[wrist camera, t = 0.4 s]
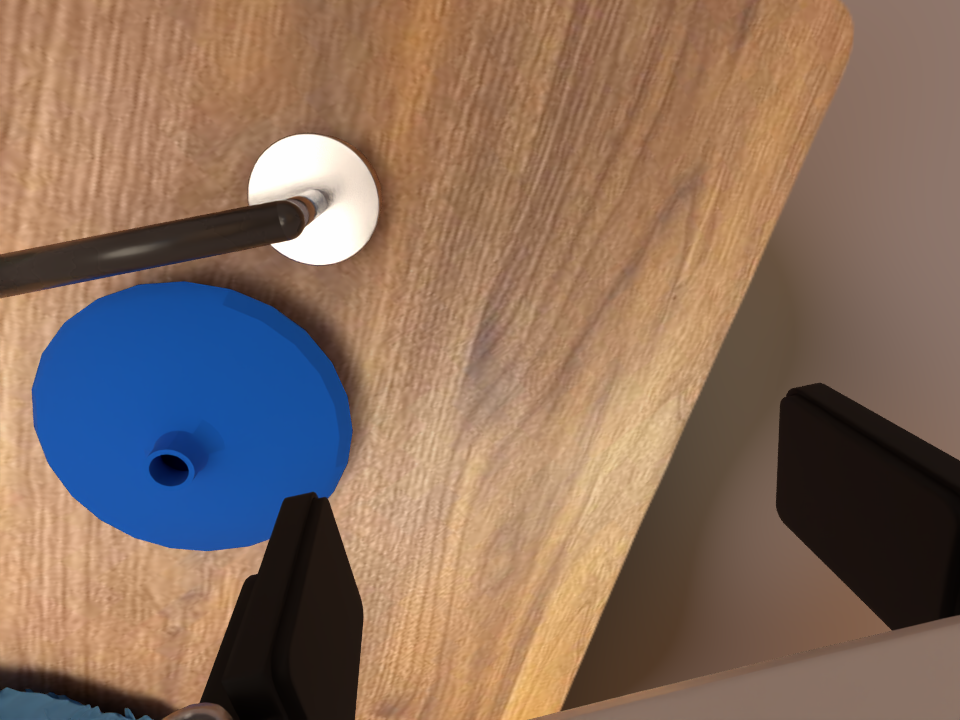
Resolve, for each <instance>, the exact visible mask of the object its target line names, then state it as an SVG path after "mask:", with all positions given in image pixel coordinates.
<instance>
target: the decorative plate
mask: <svg viewBox="0 0 960 720" xmlns="http://www.w3.org/2000/svg"><path fill="white" fill-rule="evenodd" d="M25 691H26V692H20V691H17V690H13V689H10V688H8V687H6V688H5V689H3V690H1V691H0V720H136V719H135V718H134V716H133V714H132V712H131V711H130V709H128V708H125V717H124V716H122V715H120V714H118V713H102V712H100V710H99V707H98V706H96V707H94V708H91V707H90V705H83V704H81V703H79V702H77V701H75V700H71V699H69V698H68V697H67V696H65V695H56V694H55V693H53V692H49V693H48V694H42V693H34V692H33V691H32V690H31V689H25ZM137 720H152V719H151V718H150V717H149V716H147V715H145V716H143V717H141V718H140V719H137Z"/></svg>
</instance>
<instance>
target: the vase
mask: <svg viewBox="0 0 960 720" xmlns="http://www.w3.org/2000/svg"><path fill="white" fill-rule="evenodd" d="M32 402H33V420H34V428H35V431H36V433H37V436H38V438H39V441H40V444H41V446H42V449H43V451H44V454H45V457H46V459H47V462H48V464H49V465H50V467H51V468H52V470H53V471H54V472H55V474H56V475H57V476H58V478H59V479H60V480H61V482H62V483H63V485H64V486H65V487H66V489H67V490H68V491H69V493H70V494H71V495H72V497H74V498H75V499H76V500H77V501H78V502H80V503H81V504H82V505H83V506H84V507H86V508H87V509H88V510H89V511H90V512H92V513H93V514H94V515H95V516H96V517H98V518H99V519H100V520H101V521H103V522H105V523H107V524H109V525H111V526H113V527H115V528H117V529H119V530H121V531H123V532H124V533H126V534H128V535H130V536H132V537H134V538H137V539H141V540H144V541H148V542H151V543H155V544H158V545H162V546H165V547H168V548H176V549H188V550H200V551H213V550H222V549H230V548H239V547H247V546H251V545H254V544H257V543H260V542H263V541H266V540H269V539H270V537H271V534H272V531H273V528H274V525H275V522H276V519H277V517H278V514H279V511H280V508H281V505H282V502H283V500H284V498H287V497H291V496H296V495H301V494H305V493H310V492H315V493H316V494H317V496H318V498H322V497H327V499H328V498H329V497H330V495H331V494H332V493H333V492H334V490H335V488H336V486H337V484H338V482H339V480H340V478H341V476H342V474H343V472H344V470H345V468H346V466H347V464H348V458H349V451H350V445H351V439H352V432H353V429H352V422H351V416H350V409H349V402H348V396H347V394H346V392H345V390H344V388H343V385H342V383H341V381H340V379H339V377H338V375H337V372H336V370H335V368H334V366H333V364H332V362H331V361H330V359H329V358H328V357H327V356H326V355H325V353H324V352H323V351H322V350H321V349H320V347H319V346H318V345H317V344H316V343H315V341H314V340H313V339H312V338H311V337H310V335H309V334H308V333H307V332H306V331H305V330H304V329H303V328H302V327H300V326H299V325H297V324H296V323H295V322H293V321H292V320H291V319H289V318H288V317H287V316H285V315H284V314H282V313H281V312H280V311H278V310H277V309H276V308H274V307H273V306H270V305H268V304H266V303H263V302H261V301H259V300H256V299H254V298H251V297H249V296H247V295H244V294H242V293H240V292H237V291H235V290H231V289H227V288H221V287H215V286H209V285H203V284H197V283H191V282H185V281H182V282H168V283H154V284H140V285H136V286H133V287H130V288H128V289H125V290H122V291H119V292H116V293H113V294H110V295H107V296H104V297H101V298H99V299H97V300H95V301H94V302H93V303H91V304H90V305H88V306H87V307H86V308H84V309H83V310H81V311H80V312H79V313H77V314H76V315H74V316H73V317H72V318H70V319H69V320H67V321H66V322H65V323H64V324H63V325H62V327H61V328H60V330H59V331H58V332H57V334H56V335H55V337H54V338H53V339H52V341H51V342H50V343H49V345H48V346H47V348H46V349H45V350H44V352H43V353H42V356H41V359H40V363H39V366H38V370H37V373H36V377H35V380H34V383H33V387H32Z"/></svg>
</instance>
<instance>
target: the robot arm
mask: <svg viewBox="0 0 960 720" xmlns="http://www.w3.org/2000/svg"><path fill="white" fill-rule="evenodd" d="M779 420H780V421H779V443H778V469H777V492H776V508H777V512H778V514H779V517H780V518H781V520H782V521H783V523H784V524H785V525H786V526H787V527H788V528H789V529H790V530H791V531H792V532H794V534H795V535H796V536H797V537H798V538H799V539H800V540H802V542H804V544H805V545H806V546H807V547H808V548H810V549H811V550H812V551H813V552H814V554H816V555H817V556H818V557H819V558H820V559H821V560H822V561H823V562H824V563H825V564H826V565H827V566H828V567H829V568H830V569H831V570H832V571H833V572H834V573H835V574H836V575H837V576H838V577H839V578H840V579H841V580H842V581H843V582H844V583H845V584H846V585H847V586H848V587H849V588H850V589H851V590H852V591H853V592H854V593H855V594H856V595H857V596H858V597H859V598H860V599H861V600H862V601H863V602H864V603H865V604H866V605H867V606H868V607H869V608H870V609H871V610H872V611H873V612H874V613H875V614H876V615H877V616H878V617H879V618H880V619H881V620H882V621H883V622H884V623H885V624H886V625H887V626H888V627H889V628H890V629H891V630H892V631H889V632H885V633H881V634H877V635H873V636H868V637H864V638H860V639H856V640H852V641H847V642H844V643H839V644H835V645H830V646H826V647H822V648H818V649H814V650H809V651H805V652H801V653H797V654H793V655H789V656H785V657H781V658H776V659H772V660H768V661H764V662H760V663H756V664H752V665H747V666H744V667H739V668H735V669H731V670H727V671H723V672H719V673H715V674H711V675H707V676H702V677H699V678H695V679H691V680H686V681H682V682H678V683H674V684H670V685H666V686H662V687H658V688H654V689H650V690H645V691H642V692H637V693H633V694H629V695H625V696H621V697H617V698H613V699H610V700H606V701H601V702H597V703H593V704H589V705H586V706H581V707H577V708H573V709H569V710H565V711H561V712H557V713H553V714H549V715H545V716H541V717H537V718H533V719H529V720H960V461H959V460H958V459H956V458H954V457H952V456H951V455H949V454H947V453H945V452H943V451H942V450H940V449H938V448H936V447H934V446H933V445H931V444H929V443H927V442H926V441H924V440H922V439H920V438H919V437H917V436H915V435H913V434H912V433H910V432H908V431H906V430H904V429H903V428H901V427H899V426H897V425H895V424H894V423H892V422H890V421H889V420H886V419H885V418H883V417H881V416H880V415H878V414H876V413H874V412H873V411H871V410H869V409H867V408H866V407H864V406H862V405H860V404H858V403H857V402H855V401H853V400H851V399H850V398H848V397H846V396H844V395H842V394H841V393H839V392H837V391H835V390H833V389H832V388H830V387H828V386H826V385H825V384H822V383H815V384H811V385H806V386H802V387H797V388H792V389H791V390H789V391H788V393H787V395H786V397H784V398H783V399H782V400H781V403H780V419H779ZM362 630H363V606H362V601H361V597H360V594H359V591H358V588H357V585H356V582H355V579H354V576H353V573H352V570H351V567H350V564H349V561H348V558H347V555H346V552H345V549H344V546H343V543H342V540H341V536H340V533H339V530H338V527H337V524H336V521H335V518H334V515H333V512H332V509H331V506H330V503H329V501H328V499H327V497H322V498H318V496H317V494H316V493H315V492H310V493H305V494H301V495H296V496H291V497H287V498H284V500H283V502H282V505H281V508H280V511H279V514H278V517H277V519H276V522H275V525H274V528H273V531H272V534H271V537H270V540H269V543H268V546H267V549H266V551H265V554H264V557H263V560H262V563H261V566H260V569H259V572H258V574H256V575H251V576H249V577H248V578H247V579H246V580H245V582H244V584H243V586H242V589H241V592H240V595H239V597H238V600H237V603H236V605H235V608H234V611H233V614H232V616H231V619H230V622H229V624H228V627H227V630H226V633H225V635H224V638H223V641H222V644H221V646H220V649H219V652H218V654H217V657H216V660H215V663H214V665H213V668H212V671H211V673H210V676H209V679H208V682H207V684H206V687H205V690H204V692H203V695H202V698H201V701H200V703H198V704H192V705H189V706H187V707H184V708H182V709H179V710H177V711H175V712H173V713H171V714H170V715H168V716H167V717H165V718H164V719H162V720H355V710H356V699H357V687H358V676H359V664H360V653H361V641H362Z"/></svg>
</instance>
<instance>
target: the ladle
mask: <svg viewBox="0 0 960 720" xmlns="http://www.w3.org/2000/svg"><path fill="white" fill-rule="evenodd" d="M248 205H249V206H246V207H241V208H236V209H231V210H226V211H221V212H216V213H210V214H205V215H200V216H195V217H190V218H185V219H180V220H175V221H169V222H164V223H159V224H154V225H149V226H144V227H139V228H134V229H129V230H123V231H118V232H113V233H108V234H103V235H98V236H93V237H88V238H82V239H77V240H72V241H67V242H62V243H57V244H52V245H47V246H41V247H36V248H31V249H26V250H21V251H16V252H11V253H6V254H0V298H5V297H10V296H15V295H20V294H25V293H30V292H35V291H40V290H45V289H50V288H55V287H60V286H65V285H70V284H75V283H80V282H85V281H90V280H95V279H100V278H105V277H110V276H115V275H120V274H125V273H130V272H135V271H140V270H145V269H150V268H155V267H160V266H165V265H170V264H175V263H180V262H185V261H191V260H196V259H201V258H206V257H211V256H216V255H221V254H226V253H231V252H236V251H241V250H246V249H251V248H256V247H261V246H266V245H271V246H272V247H273V248H274V249H275V250H276V251H278V252H279V253H281V254H282V255H284V256H285V257H287V258H289V259H291V260H294V261H296V262H299V263H303V264H307V265H314V266H326V265H333V264H336V263H340V262H343V261H345V260H347V259H349V258H351V257H352V256H354V255H355V254H357V253H358V252H359V251H361V249H362V248H363V247H364V246H365V245H366V244H367V243H368V241H369V240H370V239H371V237H372V235H373V233H374V231H375V228H376V226H377V223H378V220H379V217H380V214H381V209H382V192H381V186H380V183H379V179H378V177H377V174H376V172H375V170H374V168H373V167H372V165H371V163H370V162H369V161H368V160H367V158H366V157H365V156H364V155H363V154H362V153H361V152H360V151H359V150H358V149H356V148H355V147H354V146H352V145H351V144H349V143H347V142H346V141H344V140H341V139H339V138H336V137H333V136H328V135H322V134H316V133H300V134H294V135H290V136H287V137H284V138H282V139H280V140H278V141H276V142H275V143H273V144H271V145H270V146H269V147H268V148H267V149H266V150H265V151H264V152H263V153H262V154H261V155H260V156H259V158H258V159H257V161H256V162H255V164H254V166H253V169H252V171H251V174H250V178H249V182H248Z"/></svg>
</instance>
